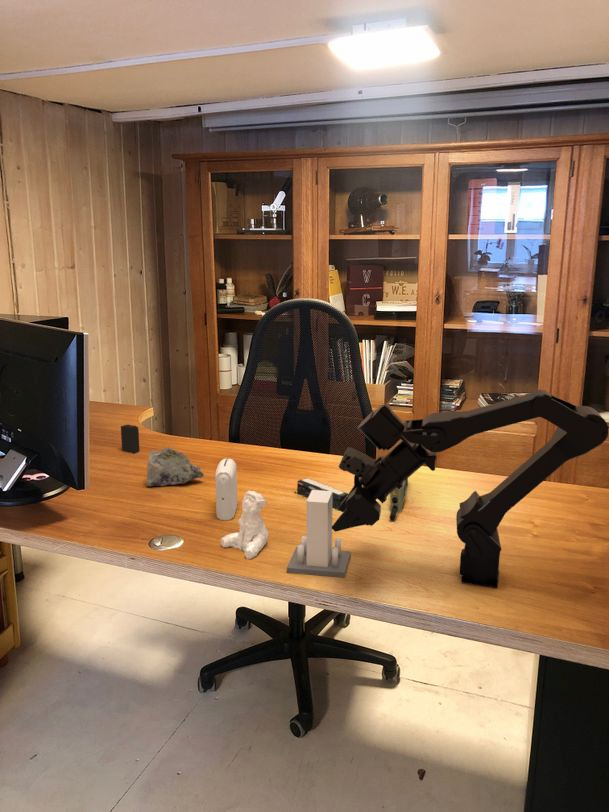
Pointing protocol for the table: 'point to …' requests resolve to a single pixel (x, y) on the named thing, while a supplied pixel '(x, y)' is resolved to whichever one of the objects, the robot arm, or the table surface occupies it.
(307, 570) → the grey peg board
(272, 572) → the table surface
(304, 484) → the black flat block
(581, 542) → the table surface
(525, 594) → the table surface
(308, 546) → the block
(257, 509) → the white creature statuette
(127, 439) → the ink cartridge
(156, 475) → the mineral rock
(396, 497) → the handheld radio
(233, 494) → the photo printer
